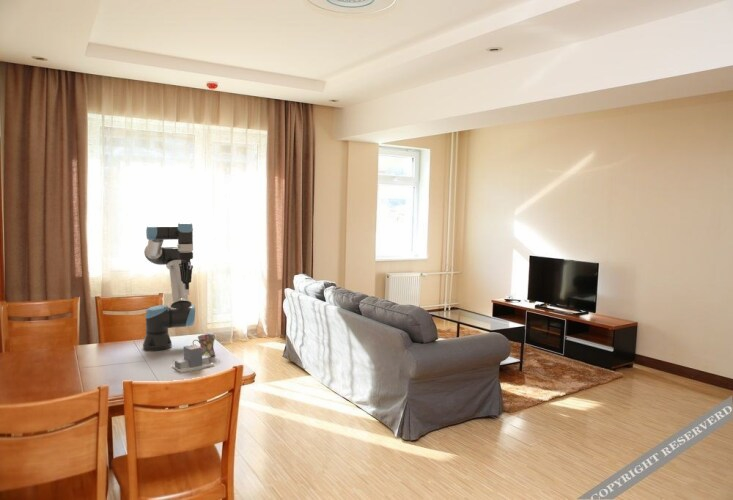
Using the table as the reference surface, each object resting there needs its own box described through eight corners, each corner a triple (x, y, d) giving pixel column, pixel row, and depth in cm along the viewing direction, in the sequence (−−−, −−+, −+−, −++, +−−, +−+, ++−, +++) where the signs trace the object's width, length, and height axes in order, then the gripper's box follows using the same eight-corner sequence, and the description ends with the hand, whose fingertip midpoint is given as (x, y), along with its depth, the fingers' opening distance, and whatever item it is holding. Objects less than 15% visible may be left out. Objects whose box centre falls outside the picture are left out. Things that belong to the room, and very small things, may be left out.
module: (183, 363, 264) (183, 345, 263) (195, 361, 268) (195, 343, 267) (190, 367, 258) (190, 349, 257) (202, 365, 262) (201, 347, 261)
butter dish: (172, 367, 262) (171, 359, 261) (204, 360, 273) (204, 352, 273) (181, 372, 254) (180, 364, 253) (213, 365, 265) (213, 357, 265)
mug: (214, 352, 288) (214, 333, 287) (217, 357, 280) (217, 337, 279) (191, 354, 283) (191, 335, 282) (193, 359, 275) (193, 339, 274)
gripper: (173, 251, 282) (174, 294, 285) (183, 253, 273) (184, 297, 275) (187, 250, 287) (188, 292, 290) (197, 252, 278) (198, 296, 280)
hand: (186, 294), depth 282 cm, fingers closed
